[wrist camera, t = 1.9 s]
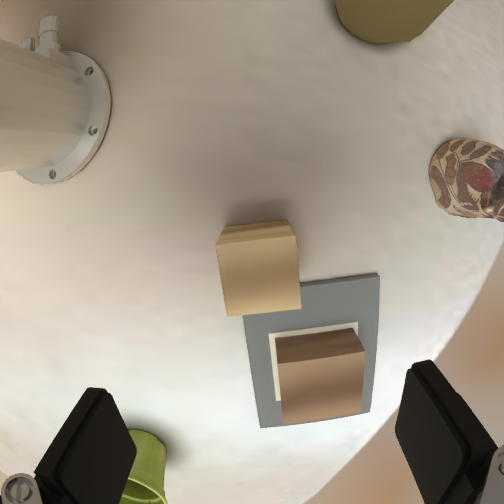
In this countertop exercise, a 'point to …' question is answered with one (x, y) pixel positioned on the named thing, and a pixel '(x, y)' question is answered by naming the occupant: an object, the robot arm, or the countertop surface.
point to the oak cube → (259, 268)
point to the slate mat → (307, 322)
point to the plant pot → (146, 471)
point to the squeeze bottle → (389, 18)
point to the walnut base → (320, 375)
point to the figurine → (469, 179)
